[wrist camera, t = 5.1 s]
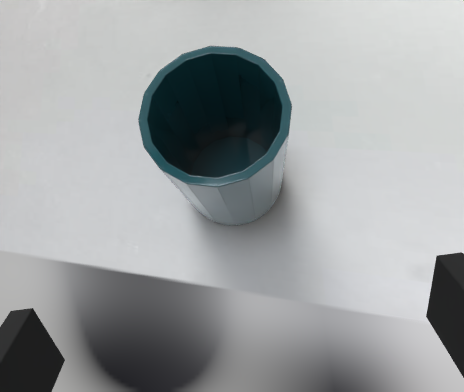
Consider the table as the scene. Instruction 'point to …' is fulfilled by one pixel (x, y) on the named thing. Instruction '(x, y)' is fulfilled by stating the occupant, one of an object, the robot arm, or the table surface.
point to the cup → (219, 131)
